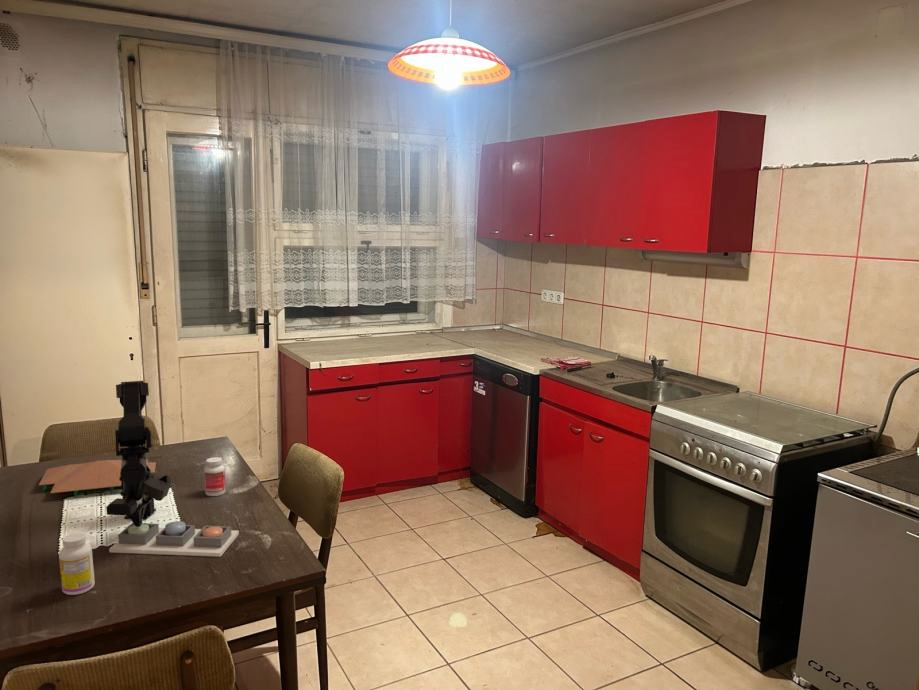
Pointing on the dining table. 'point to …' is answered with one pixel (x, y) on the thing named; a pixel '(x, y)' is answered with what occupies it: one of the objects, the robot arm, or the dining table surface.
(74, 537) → the supplement bottle
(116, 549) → the button panel
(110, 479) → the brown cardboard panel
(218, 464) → the pill bottle
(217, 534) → the terracotta button
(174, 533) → the slate blue button
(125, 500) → the robot arm
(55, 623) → the dining table surface
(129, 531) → the sage button
